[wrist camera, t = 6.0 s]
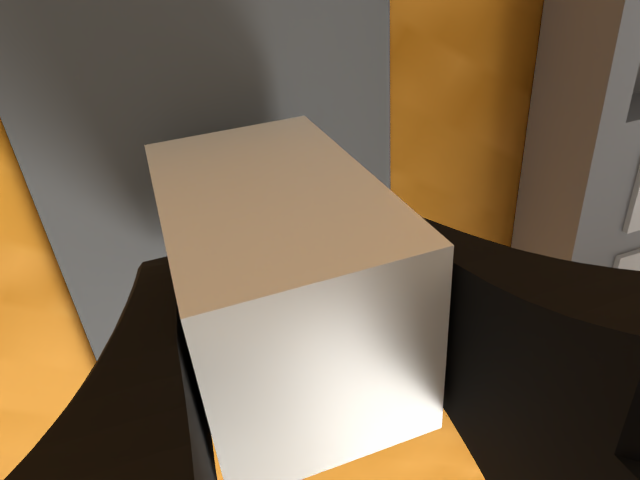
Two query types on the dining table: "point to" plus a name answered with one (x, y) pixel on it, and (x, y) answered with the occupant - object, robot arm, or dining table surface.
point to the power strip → (584, 137)
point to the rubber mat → (170, 109)
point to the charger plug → (301, 298)
